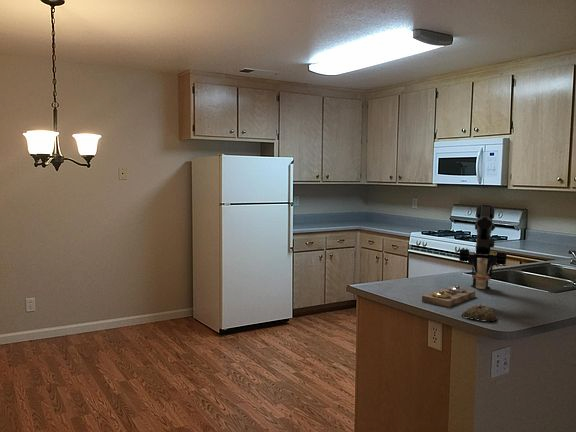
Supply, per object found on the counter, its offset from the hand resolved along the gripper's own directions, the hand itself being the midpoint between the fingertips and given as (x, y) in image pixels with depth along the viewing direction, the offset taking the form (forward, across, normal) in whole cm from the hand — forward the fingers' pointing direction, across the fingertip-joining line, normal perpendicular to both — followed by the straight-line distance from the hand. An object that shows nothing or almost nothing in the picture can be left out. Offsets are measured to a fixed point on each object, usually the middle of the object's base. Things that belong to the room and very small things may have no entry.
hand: (481, 273), depth 209 cm
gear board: (+7, -12, +12) cm, 19 cm away
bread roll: (+24, 0, -4) cm, 24 cm away
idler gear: (+4, 0, +6) cm, 7 cm away
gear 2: (0, -10, +15) cm, 18 cm away
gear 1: (+10, -15, +6) cm, 19 cm away
